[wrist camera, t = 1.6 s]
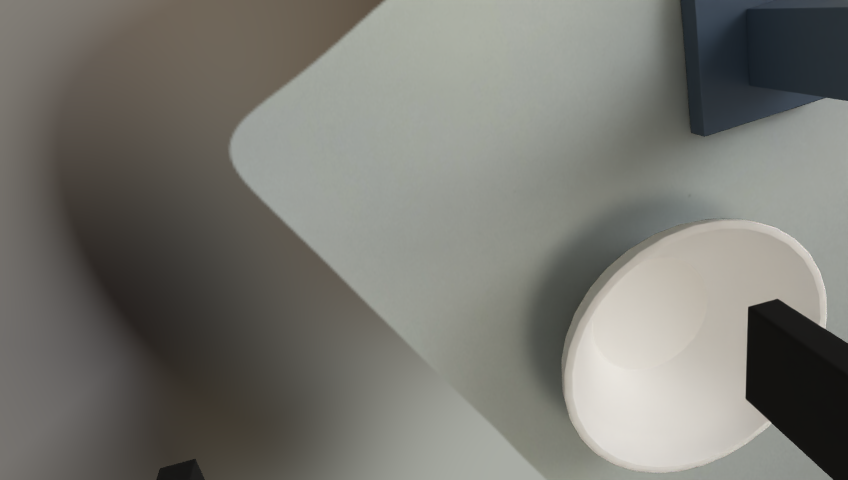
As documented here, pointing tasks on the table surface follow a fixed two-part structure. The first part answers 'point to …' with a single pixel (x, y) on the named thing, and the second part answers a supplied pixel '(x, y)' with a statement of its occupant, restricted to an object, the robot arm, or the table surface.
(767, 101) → the lectern stand
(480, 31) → the table surface
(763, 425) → the bowl
